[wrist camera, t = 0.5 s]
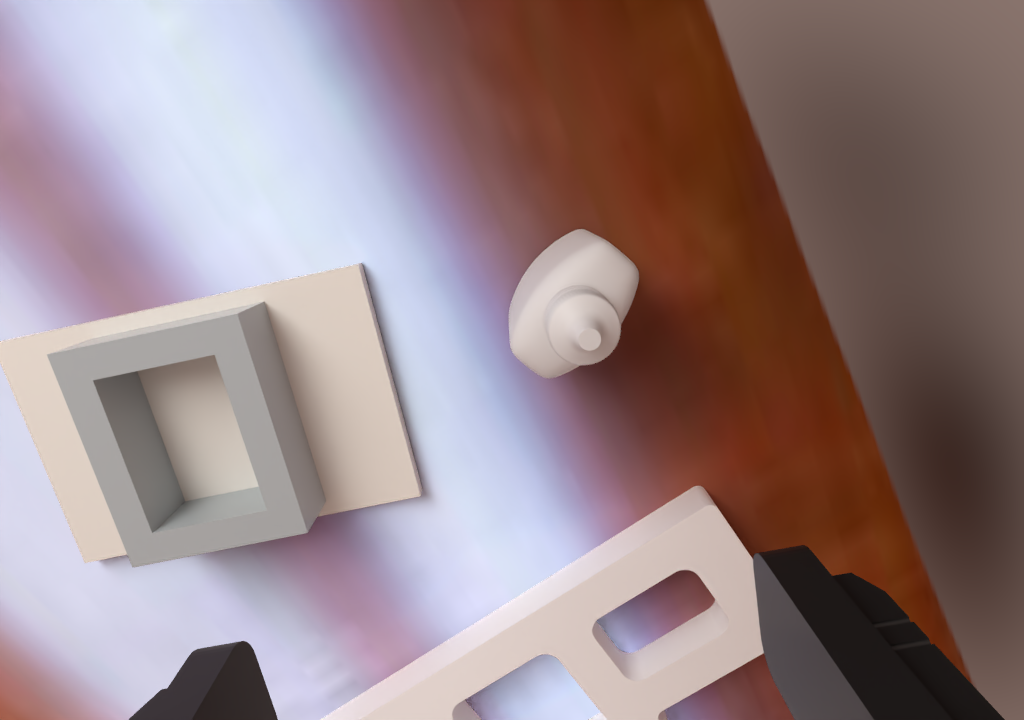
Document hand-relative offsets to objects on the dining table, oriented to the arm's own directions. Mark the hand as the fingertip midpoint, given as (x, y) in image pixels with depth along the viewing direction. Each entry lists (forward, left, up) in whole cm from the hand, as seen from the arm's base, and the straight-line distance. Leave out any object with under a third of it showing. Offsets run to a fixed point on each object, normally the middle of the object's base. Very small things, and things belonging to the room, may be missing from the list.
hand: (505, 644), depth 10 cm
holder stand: (+1, -15, -23) cm, 27 cm away
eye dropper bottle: (-2, +3, -23) cm, 23 cm away
